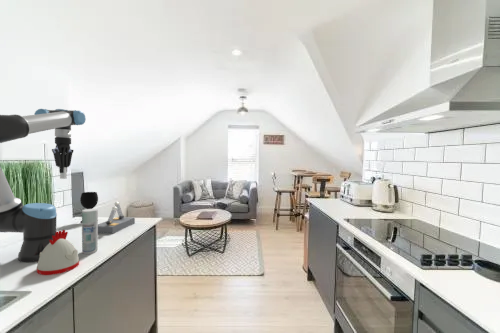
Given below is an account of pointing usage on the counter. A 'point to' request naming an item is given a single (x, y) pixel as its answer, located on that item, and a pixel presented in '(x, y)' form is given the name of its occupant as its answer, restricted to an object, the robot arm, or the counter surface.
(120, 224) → the switch box
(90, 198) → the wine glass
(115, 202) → the lever far
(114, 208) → the lever near
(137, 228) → the counter surface
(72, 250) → the white chicken hat
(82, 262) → the counter surface
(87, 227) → the spray can
